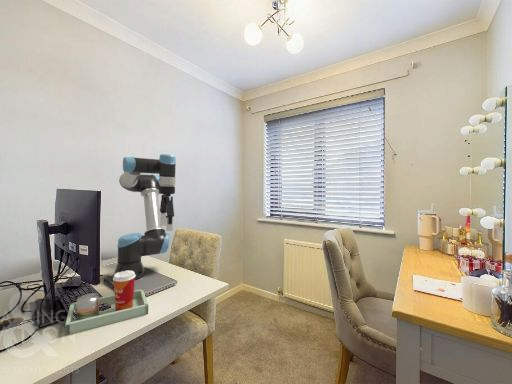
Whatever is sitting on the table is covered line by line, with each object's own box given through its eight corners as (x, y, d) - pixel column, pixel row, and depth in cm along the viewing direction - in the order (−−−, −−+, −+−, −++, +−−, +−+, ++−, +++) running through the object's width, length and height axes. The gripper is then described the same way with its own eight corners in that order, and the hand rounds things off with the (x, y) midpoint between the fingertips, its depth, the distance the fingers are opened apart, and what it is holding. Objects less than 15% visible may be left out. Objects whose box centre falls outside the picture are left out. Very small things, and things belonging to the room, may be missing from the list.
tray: (70, 314, 92) (70, 303, 92) (142, 298, 106) (142, 288, 106) (65, 338, 79) (65, 325, 79) (148, 316, 93) (148, 305, 93)
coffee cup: (110, 308, 95) (110, 273, 95) (131, 301, 101) (132, 268, 100) (115, 317, 89) (116, 280, 89) (138, 309, 95) (138, 274, 95)
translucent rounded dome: (77, 315, 90) (77, 295, 89) (99, 310, 94) (99, 291, 93) (75, 325, 84) (75, 304, 83) (99, 320, 88) (99, 299, 87)
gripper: (154, 184, 123) (153, 224, 124) (164, 186, 103) (163, 233, 104) (169, 185, 128) (168, 223, 129) (181, 187, 107) (180, 232, 108)
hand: (166, 228), depth 116 cm, fingers open, 13 cm apart
